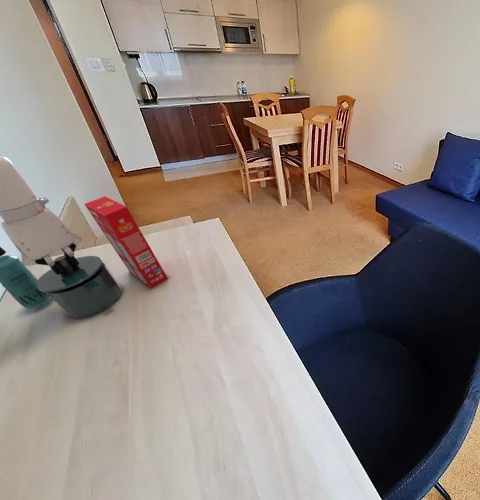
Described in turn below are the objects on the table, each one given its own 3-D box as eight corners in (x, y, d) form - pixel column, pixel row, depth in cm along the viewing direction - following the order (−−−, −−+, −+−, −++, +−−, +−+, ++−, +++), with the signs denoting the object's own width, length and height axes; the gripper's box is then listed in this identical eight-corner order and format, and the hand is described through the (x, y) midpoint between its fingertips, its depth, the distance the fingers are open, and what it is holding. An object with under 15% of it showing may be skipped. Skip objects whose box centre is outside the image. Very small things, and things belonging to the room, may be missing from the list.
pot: (87, 328, 80) (64, 302, 74) (54, 307, 88) (31, 282, 82) (136, 294, 89) (119, 269, 83) (103, 278, 97) (85, 254, 92)
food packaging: (168, 278, 94) (126, 206, 80) (151, 288, 91) (104, 215, 76) (146, 263, 102) (104, 196, 87) (130, 272, 98) (84, 203, 84)
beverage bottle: (21, 312, 87) (-36, 256, 76) (43, 295, 93) (-7, 241, 81) (39, 313, 86) (-16, 257, 75) (60, 296, 91) (12, 242, 80)
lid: (54, 300, 74) (38, 282, 71) (29, 284, 80) (13, 267, 77) (114, 266, 84) (103, 249, 81) (88, 254, 91) (77, 238, 87)
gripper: (54, 194, 78) (94, 252, 89) (-29, 224, 67) (27, 286, 78) (68, 199, 75) (108, 258, 86) (-17, 230, 64) (40, 294, 74)
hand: (69, 270), depth 82 cm, fingers closed on lid, 2 cm apart
